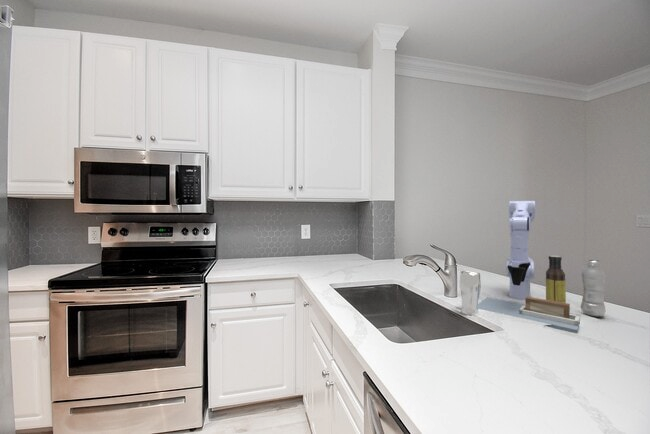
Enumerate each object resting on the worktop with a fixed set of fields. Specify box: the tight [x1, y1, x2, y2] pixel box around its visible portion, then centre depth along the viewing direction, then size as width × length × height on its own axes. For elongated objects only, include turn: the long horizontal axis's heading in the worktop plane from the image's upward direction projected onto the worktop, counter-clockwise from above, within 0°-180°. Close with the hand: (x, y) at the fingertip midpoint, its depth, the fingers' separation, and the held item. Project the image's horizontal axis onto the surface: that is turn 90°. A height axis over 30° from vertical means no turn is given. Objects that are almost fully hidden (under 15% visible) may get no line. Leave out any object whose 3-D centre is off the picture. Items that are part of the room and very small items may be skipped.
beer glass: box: [459, 270, 482, 317], centre depth 107 cm, size 7×7×15 cm
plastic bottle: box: [580, 259, 607, 318], centre depth 105 cm, size 6×7×20 cm
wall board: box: [478, 296, 582, 334], centre depth 107 cm, size 18×30×2 cm, turn 46°
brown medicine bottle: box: [545, 255, 567, 303], centre depth 115 cm, size 6×6×20 cm
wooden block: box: [524, 296, 571, 319], centre depth 101 cm, size 3×12×6 cm, turn 47°
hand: (518, 283), depth 112 cm, fingers open, 7 cm apart
